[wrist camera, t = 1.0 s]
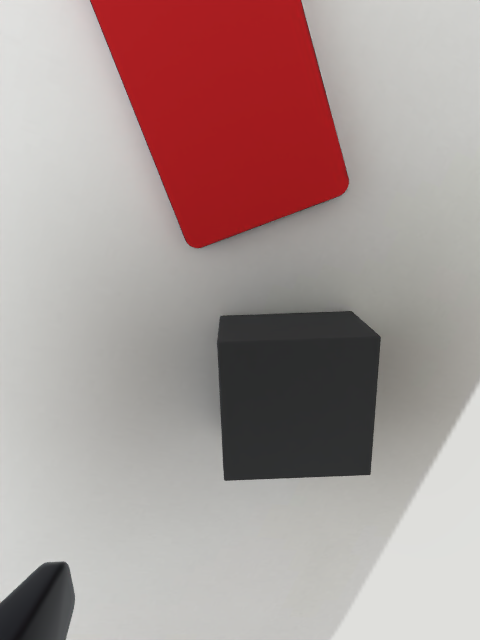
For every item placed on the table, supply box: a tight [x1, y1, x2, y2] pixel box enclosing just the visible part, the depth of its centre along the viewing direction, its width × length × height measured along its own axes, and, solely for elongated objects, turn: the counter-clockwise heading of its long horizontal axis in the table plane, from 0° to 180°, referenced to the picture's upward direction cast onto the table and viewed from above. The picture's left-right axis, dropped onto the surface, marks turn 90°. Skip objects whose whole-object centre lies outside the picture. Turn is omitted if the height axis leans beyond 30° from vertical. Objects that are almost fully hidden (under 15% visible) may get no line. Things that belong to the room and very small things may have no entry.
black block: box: [217, 311, 381, 481], centre depth 14 cm, size 5×5×3 cm
